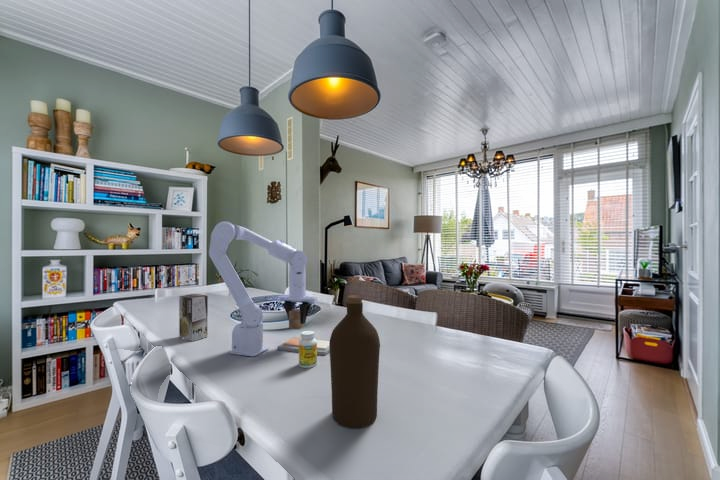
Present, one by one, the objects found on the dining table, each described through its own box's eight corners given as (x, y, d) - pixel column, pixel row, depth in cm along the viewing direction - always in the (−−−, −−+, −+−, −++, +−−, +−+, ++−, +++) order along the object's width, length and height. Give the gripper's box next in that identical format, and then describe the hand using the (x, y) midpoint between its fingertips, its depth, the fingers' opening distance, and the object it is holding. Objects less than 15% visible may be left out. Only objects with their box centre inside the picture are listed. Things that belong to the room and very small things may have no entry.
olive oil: (355, 438, 57) (355, 303, 57) (318, 416, 64) (319, 296, 64) (390, 414, 65) (390, 296, 65) (354, 397, 72) (354, 290, 72)
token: (289, 328, 107) (288, 311, 107) (294, 325, 110) (294, 308, 110) (299, 329, 105) (299, 311, 105) (304, 326, 109) (304, 309, 109)
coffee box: (208, 337, 118) (208, 295, 118) (191, 341, 112) (191, 297, 112) (195, 333, 122) (195, 293, 123) (178, 337, 117) (178, 295, 117)
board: (277, 349, 104) (277, 344, 104) (293, 339, 115) (293, 335, 115) (325, 355, 99) (325, 350, 99) (338, 344, 109) (338, 340, 109)
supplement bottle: (312, 360, 95) (312, 329, 95) (320, 365, 90) (320, 333, 91) (295, 363, 92) (296, 331, 92) (303, 370, 87) (303, 336, 88)
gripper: (320, 283, 110) (320, 321, 110) (285, 282, 114) (285, 318, 114) (311, 286, 103) (311, 326, 103) (274, 284, 108) (274, 323, 107)
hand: (297, 322), depth 108 cm, fingers closed on token, 4 cm apart
